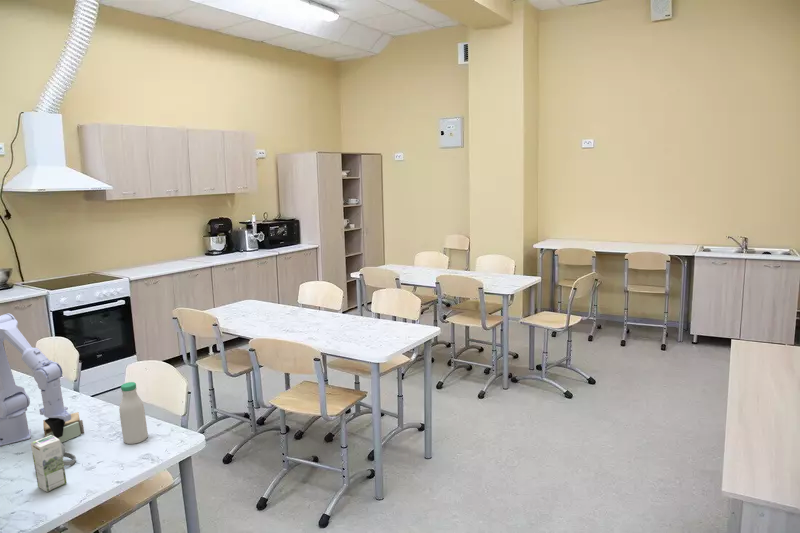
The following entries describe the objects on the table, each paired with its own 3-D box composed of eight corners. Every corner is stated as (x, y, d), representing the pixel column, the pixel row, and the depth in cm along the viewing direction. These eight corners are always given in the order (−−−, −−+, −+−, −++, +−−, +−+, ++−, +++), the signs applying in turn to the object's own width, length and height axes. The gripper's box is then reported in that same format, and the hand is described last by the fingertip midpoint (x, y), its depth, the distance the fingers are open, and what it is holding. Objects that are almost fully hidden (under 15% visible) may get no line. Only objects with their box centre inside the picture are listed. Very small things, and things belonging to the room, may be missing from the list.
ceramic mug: (36, 476, 178) (32, 453, 176) (39, 464, 185) (35, 442, 184) (75, 468, 182) (72, 445, 181) (76, 456, 189) (73, 434, 188)
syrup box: (57, 478, 176) (50, 433, 174) (67, 483, 173) (60, 438, 170) (37, 487, 172) (29, 441, 169) (47, 493, 168) (39, 446, 166)
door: (51, 448, 195) (49, 435, 194) (48, 446, 196) (46, 434, 195) (82, 435, 204) (80, 422, 203) (79, 433, 205) (77, 421, 204)
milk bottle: (152, 438, 199) (144, 383, 196) (129, 447, 194) (121, 390, 190) (142, 431, 205) (134, 378, 201) (119, 440, 199) (111, 385, 195)
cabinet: (45, 443, 199) (43, 429, 198) (45, 433, 207) (43, 420, 206) (84, 433, 205) (82, 420, 204) (82, 424, 213) (80, 411, 212)
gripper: (77, 398, 194) (83, 435, 197) (51, 391, 201) (57, 428, 204) (56, 406, 188) (63, 445, 191) (30, 399, 195) (37, 436, 198)
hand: (59, 437), depth 197 cm, fingers closed
